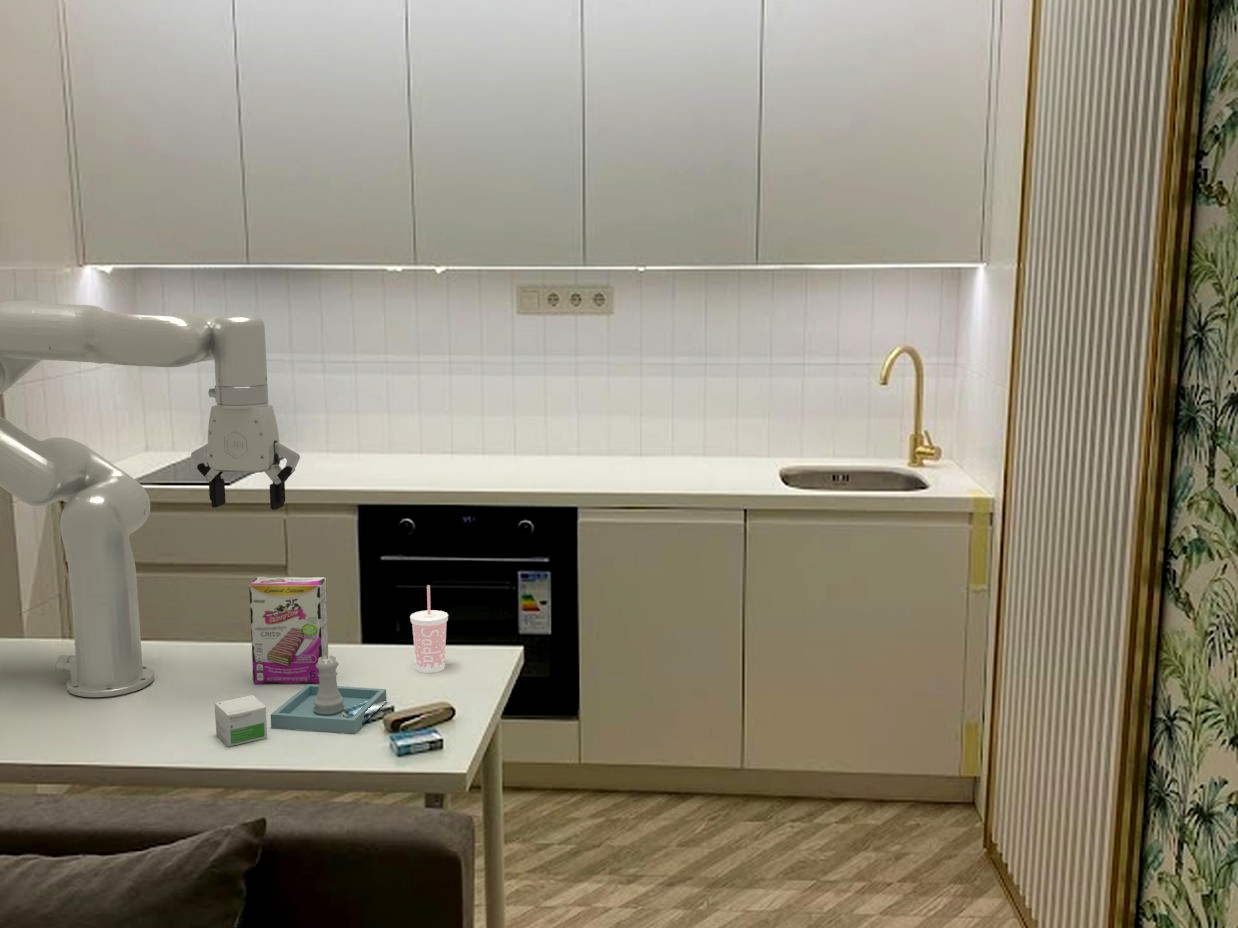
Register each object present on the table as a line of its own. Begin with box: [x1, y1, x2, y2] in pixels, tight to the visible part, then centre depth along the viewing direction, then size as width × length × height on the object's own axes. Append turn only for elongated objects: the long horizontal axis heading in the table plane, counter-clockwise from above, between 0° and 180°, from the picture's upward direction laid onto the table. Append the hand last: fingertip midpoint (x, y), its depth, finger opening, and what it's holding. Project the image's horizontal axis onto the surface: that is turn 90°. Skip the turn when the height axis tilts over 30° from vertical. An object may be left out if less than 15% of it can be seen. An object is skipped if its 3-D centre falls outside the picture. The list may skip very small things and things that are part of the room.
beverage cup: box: [409, 584, 449, 674], centre depth 195 cm, size 6×6×14 cm
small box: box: [213, 694, 268, 748], centre depth 167 cm, size 6×6×5 cm
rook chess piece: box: [313, 655, 344, 715], centre depth 175 cm, size 4×4×8 cm
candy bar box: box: [248, 576, 329, 685], centre depth 189 cm, size 11×5×16 cm, turn 92°
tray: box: [270, 683, 387, 735], centre depth 176 cm, size 13×13×2 cm
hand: (247, 506), depth 185 cm, fingers open, 9 cm apart
